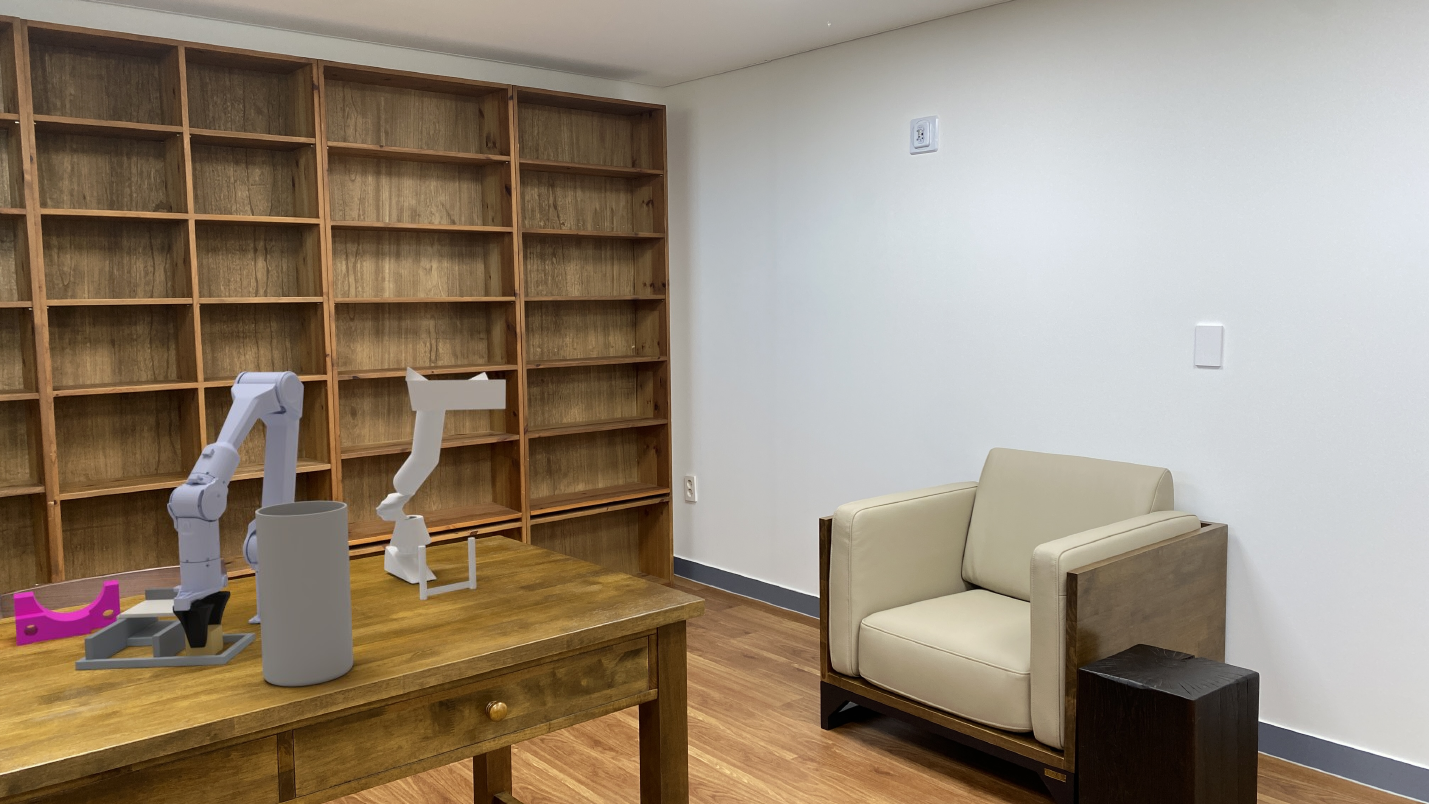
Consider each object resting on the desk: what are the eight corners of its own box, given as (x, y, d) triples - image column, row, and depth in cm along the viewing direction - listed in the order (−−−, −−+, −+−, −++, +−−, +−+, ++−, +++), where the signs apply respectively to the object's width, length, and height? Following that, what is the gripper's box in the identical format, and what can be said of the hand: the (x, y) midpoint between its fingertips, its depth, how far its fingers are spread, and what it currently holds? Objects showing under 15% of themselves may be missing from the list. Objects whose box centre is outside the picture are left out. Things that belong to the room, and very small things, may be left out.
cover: (220, 604, 171) (219, 585, 170) (195, 620, 161) (194, 601, 161) (147, 606, 170) (146, 588, 169) (116, 623, 160) (115, 603, 160)
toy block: (16, 646, 161) (14, 601, 161) (16, 637, 166) (13, 594, 166) (122, 629, 170) (120, 587, 169) (119, 620, 175) (116, 579, 174)
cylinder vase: (367, 672, 146) (361, 507, 144) (282, 695, 137) (274, 519, 135) (332, 653, 155) (326, 498, 153) (250, 673, 146) (242, 508, 144)
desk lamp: (338, 584, 198) (329, 363, 195) (423, 569, 210) (415, 360, 207) (419, 624, 170) (410, 366, 167) (512, 603, 182) (505, 363, 179)
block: (223, 648, 158) (222, 624, 158) (212, 656, 154) (211, 632, 154) (197, 649, 158) (196, 625, 157) (186, 657, 154) (184, 632, 153)
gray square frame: (276, 623, 172) (275, 598, 171) (224, 664, 150) (223, 635, 150) (146, 627, 170) (145, 602, 170) (75, 669, 149) (73, 640, 148)
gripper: (194, 549, 162) (198, 629, 163) (151, 570, 147) (155, 658, 148) (238, 548, 162) (242, 628, 163) (199, 569, 148) (203, 656, 149)
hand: (204, 642), depth 156 cm, fingers closed on block, 4 cm apart
